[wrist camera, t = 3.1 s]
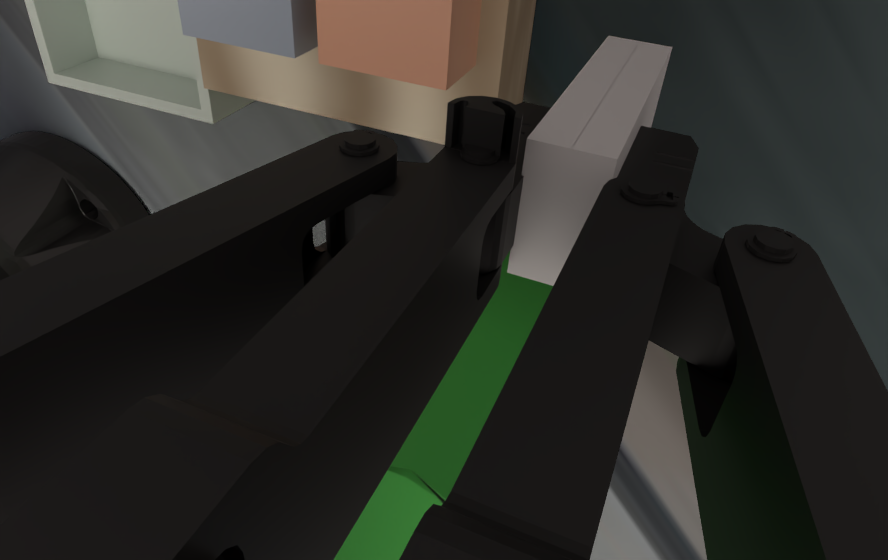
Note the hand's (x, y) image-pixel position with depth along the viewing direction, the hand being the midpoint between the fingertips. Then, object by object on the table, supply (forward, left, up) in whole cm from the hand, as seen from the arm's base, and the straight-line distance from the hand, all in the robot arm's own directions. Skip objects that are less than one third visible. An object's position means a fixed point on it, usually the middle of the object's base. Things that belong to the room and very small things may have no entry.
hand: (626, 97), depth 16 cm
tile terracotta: (-9, 0, -8) cm, 12 cm away
